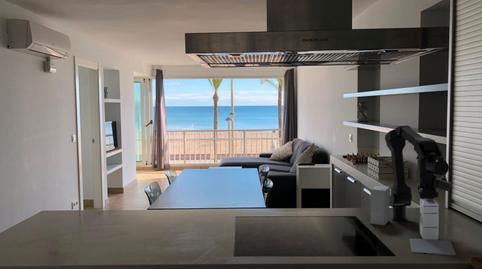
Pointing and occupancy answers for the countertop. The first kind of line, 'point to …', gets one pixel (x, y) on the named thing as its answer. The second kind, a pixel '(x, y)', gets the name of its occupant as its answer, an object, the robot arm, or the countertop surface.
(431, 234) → the syrup box
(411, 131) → the robot arm
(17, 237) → the countertop surface
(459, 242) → the countertop surface
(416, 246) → the light grey square plate
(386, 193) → the skincare box
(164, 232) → the countertop surface
